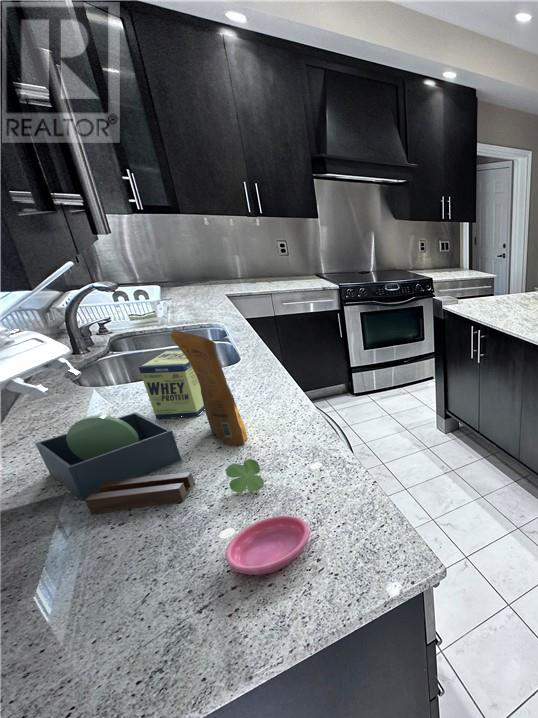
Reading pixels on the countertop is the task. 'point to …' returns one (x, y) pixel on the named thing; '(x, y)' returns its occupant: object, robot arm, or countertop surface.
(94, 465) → the tub
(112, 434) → the plate
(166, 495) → the plate stand
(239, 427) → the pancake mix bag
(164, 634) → the countertop surface
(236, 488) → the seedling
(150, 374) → the protein box
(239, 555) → the saucer
